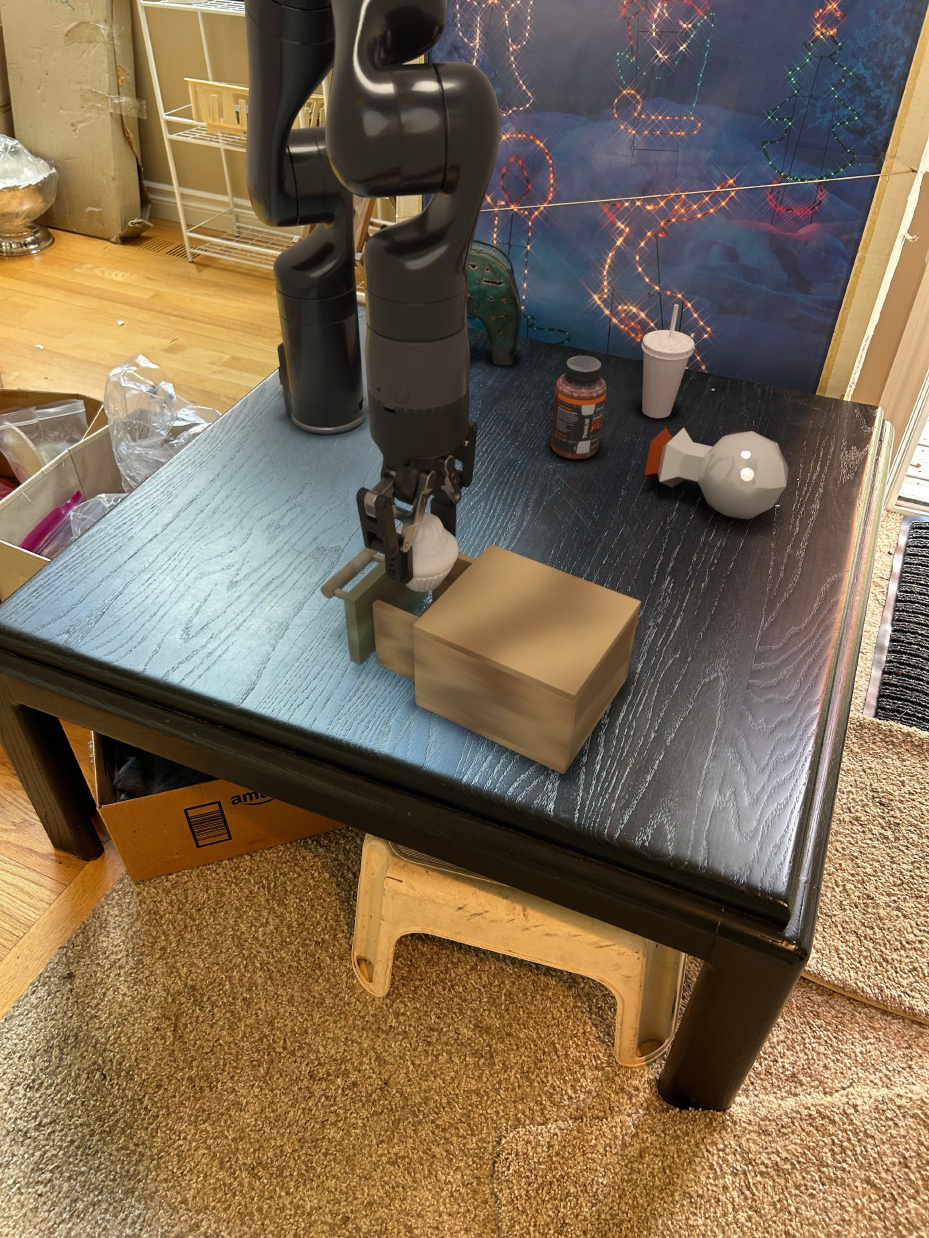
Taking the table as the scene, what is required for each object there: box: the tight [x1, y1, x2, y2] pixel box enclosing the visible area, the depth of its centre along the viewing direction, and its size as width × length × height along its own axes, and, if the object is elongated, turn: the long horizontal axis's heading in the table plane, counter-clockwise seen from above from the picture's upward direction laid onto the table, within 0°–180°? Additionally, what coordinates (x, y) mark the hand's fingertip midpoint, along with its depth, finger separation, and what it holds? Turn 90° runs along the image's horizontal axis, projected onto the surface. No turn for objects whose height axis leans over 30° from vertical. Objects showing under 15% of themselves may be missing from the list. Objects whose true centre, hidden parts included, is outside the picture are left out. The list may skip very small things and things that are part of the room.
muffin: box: [396, 511, 459, 592], centre depth 77 cm, size 6×6×7 cm
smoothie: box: [641, 303, 695, 419], centre depth 113 cm, size 6×6×14 cm
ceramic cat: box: [379, 223, 522, 366], centre depth 122 cm, size 20×6×20 cm, turn 81°
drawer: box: [320, 546, 477, 683], centre depth 81 cm, size 18×11×8 cm, turn 59°
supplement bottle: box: [550, 355, 608, 460], centre depth 107 cm, size 6×6×11 cm
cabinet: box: [413, 543, 642, 775], centre depth 77 cm, size 15×13×10 cm
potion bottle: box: [644, 427, 790, 520], centre depth 100 cm, size 9×10×15 cm
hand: (422, 557), depth 77 cm, fingers closed on muffin, 6 cm apart
